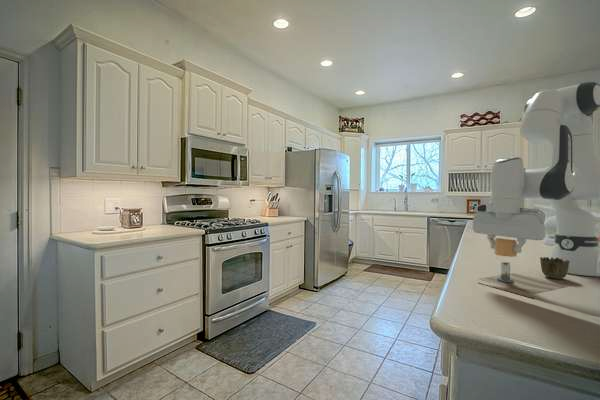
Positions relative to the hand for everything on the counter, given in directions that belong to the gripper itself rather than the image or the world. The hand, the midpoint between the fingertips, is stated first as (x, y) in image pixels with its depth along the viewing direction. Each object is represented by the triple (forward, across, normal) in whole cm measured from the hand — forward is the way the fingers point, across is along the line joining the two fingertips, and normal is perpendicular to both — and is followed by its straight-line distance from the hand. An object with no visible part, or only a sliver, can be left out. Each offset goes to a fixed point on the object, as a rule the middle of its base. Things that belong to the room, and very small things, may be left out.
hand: (505, 250), depth 92 cm
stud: (+10, 0, 0) cm, 10 cm away
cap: (+1, 0, 0) cm, 1 cm away
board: (+11, -3, -4) cm, 12 cm away
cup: (+11, -4, -20) cm, 24 cm away
